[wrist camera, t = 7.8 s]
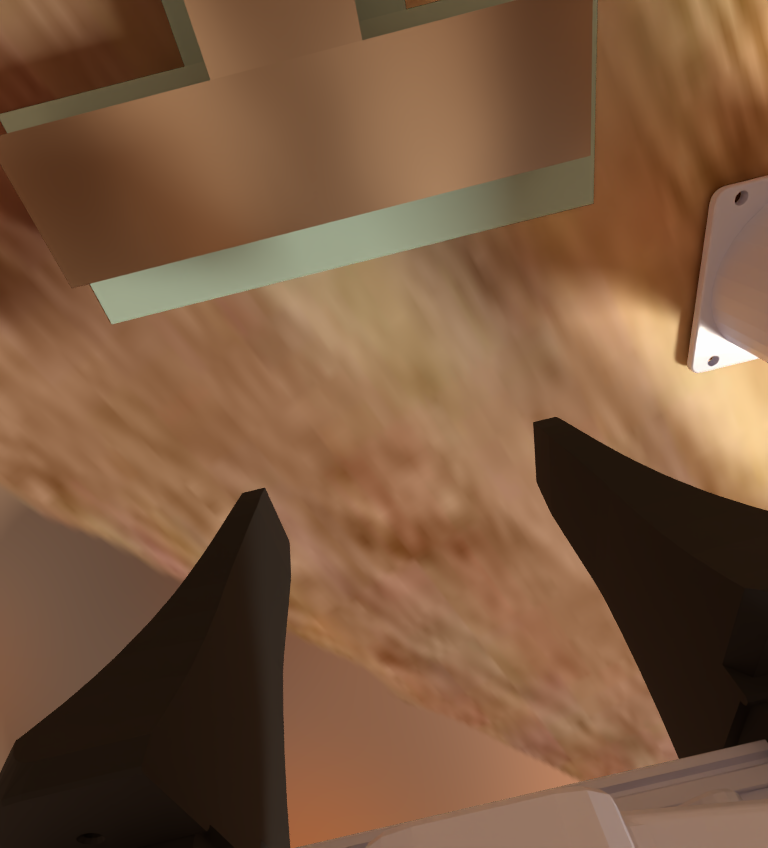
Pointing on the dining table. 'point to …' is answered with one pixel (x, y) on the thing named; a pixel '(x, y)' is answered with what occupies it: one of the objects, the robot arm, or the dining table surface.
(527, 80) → the t block
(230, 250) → the t mat
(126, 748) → the robot arm
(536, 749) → the dining table surface
